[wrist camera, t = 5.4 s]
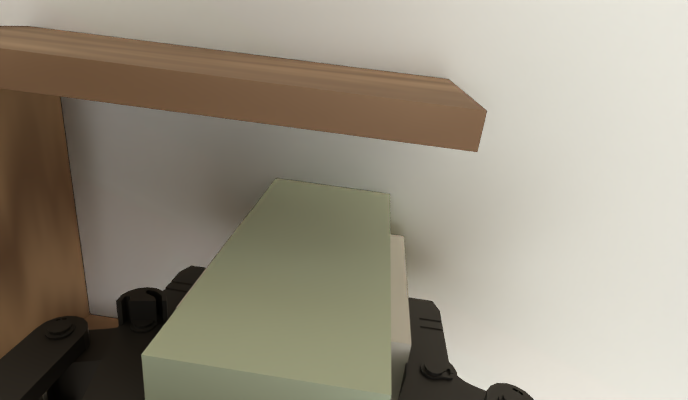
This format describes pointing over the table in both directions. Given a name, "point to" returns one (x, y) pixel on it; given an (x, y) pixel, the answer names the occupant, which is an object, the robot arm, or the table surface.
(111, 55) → the brown wooden frame
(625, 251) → the table surface
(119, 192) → the table surface
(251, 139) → the table surface
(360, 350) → the block
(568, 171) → the table surface
